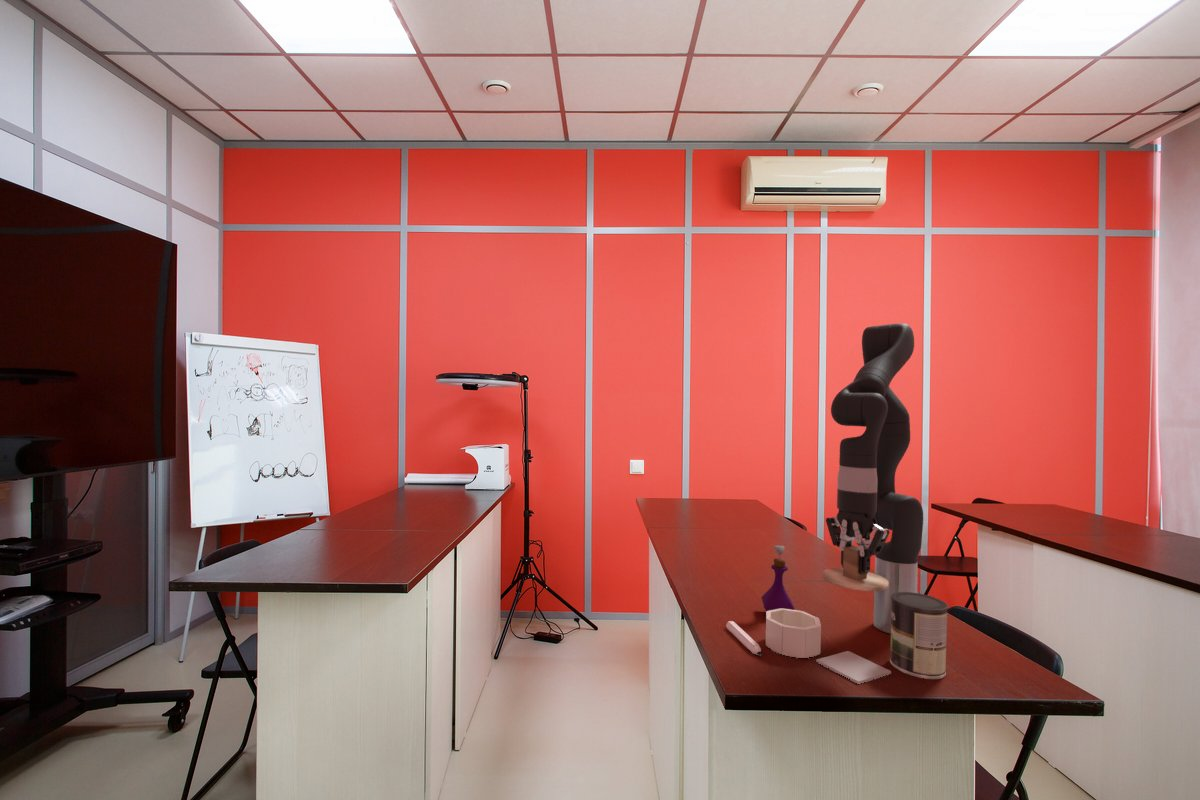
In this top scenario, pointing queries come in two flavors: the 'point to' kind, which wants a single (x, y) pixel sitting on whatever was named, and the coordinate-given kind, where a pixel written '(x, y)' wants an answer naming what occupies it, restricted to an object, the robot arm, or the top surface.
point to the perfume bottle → (777, 587)
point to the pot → (793, 633)
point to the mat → (853, 667)
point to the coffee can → (918, 635)
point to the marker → (744, 638)
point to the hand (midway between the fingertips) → (854, 570)
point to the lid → (854, 574)
